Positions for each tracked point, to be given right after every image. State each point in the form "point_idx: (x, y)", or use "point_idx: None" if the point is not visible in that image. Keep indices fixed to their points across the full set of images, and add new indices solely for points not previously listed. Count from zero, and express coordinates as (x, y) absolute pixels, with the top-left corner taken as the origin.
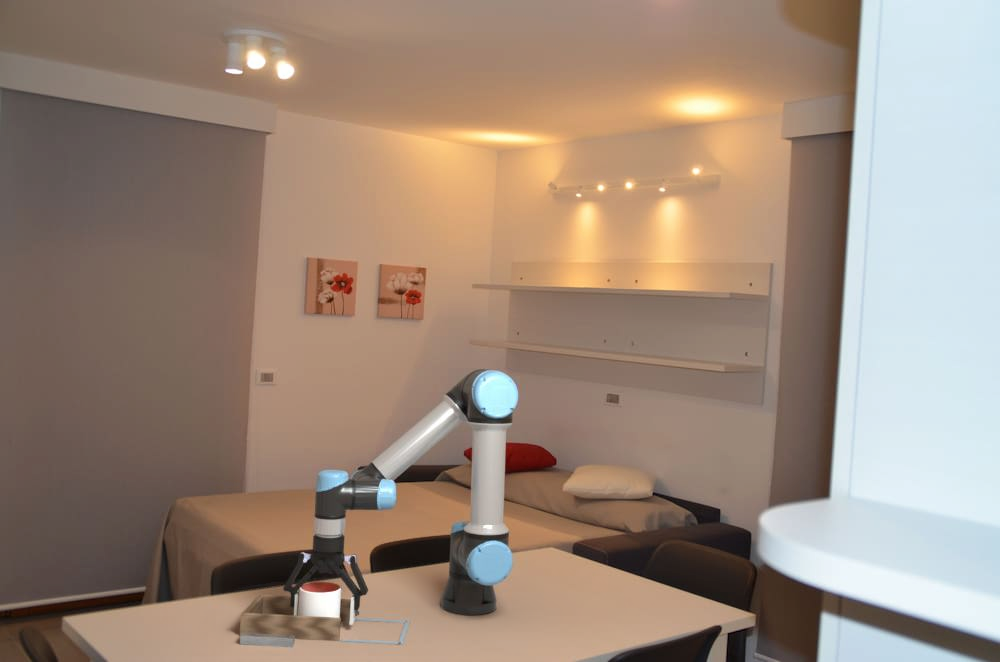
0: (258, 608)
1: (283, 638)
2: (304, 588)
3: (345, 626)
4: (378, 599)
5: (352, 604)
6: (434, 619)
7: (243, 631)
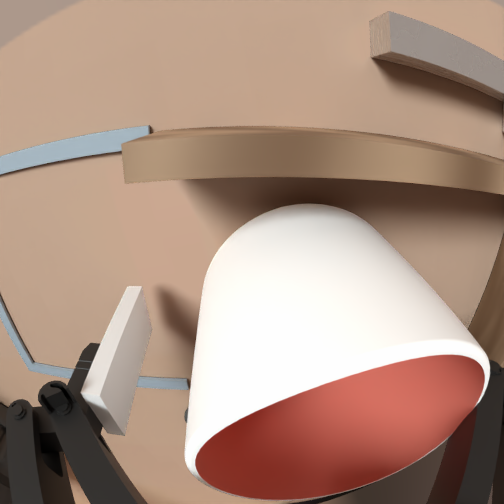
0: (501, 325)
1: (427, 25)
2: (425, 429)
3: (187, 324)
4: (178, 470)
5: (100, 359)
6: (4, 380)
7: None
